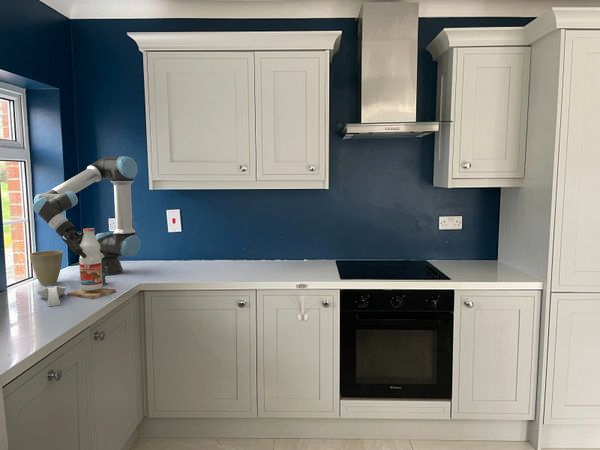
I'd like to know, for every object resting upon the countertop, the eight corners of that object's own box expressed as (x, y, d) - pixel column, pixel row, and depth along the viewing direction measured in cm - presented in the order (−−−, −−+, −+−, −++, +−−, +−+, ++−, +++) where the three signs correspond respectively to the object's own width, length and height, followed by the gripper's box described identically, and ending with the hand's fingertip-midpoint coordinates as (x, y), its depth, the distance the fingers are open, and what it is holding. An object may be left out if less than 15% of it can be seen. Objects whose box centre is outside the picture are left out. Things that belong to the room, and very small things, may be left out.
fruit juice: (106, 286, 229) (103, 227, 226) (97, 290, 219) (93, 229, 216) (86, 285, 229) (83, 227, 226) (76, 290, 220) (73, 229, 217)
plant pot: (27, 284, 245) (24, 253, 243) (57, 279, 256) (55, 249, 254) (38, 288, 235) (36, 256, 233) (69, 283, 246) (67, 252, 244)
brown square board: (92, 288, 234) (92, 286, 234) (115, 291, 228) (115, 289, 228) (68, 295, 221) (67, 293, 221) (92, 299, 215) (91, 296, 215)
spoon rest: (37, 296, 222) (36, 281, 221) (65, 292, 228) (64, 278, 227) (39, 308, 201) (38, 291, 201) (70, 304, 207) (69, 288, 206)
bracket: (83, 285, 241) (82, 268, 240) (99, 281, 249) (98, 264, 248) (96, 287, 237) (95, 269, 236) (111, 283, 245) (110, 266, 244)
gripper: (69, 228, 233) (103, 261, 234) (42, 234, 212) (79, 270, 212) (79, 217, 232) (113, 250, 233) (53, 222, 211) (90, 258, 211)
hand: (97, 260), depth 222 cm, fingers closed on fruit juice, 9 cm apart
